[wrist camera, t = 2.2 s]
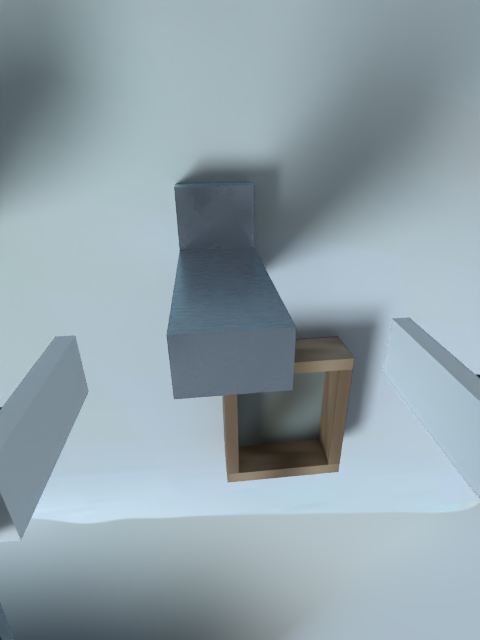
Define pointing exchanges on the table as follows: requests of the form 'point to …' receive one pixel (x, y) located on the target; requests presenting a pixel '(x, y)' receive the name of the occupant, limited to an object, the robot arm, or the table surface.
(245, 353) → the bracket
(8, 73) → the table surface
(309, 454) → the wooden frame
